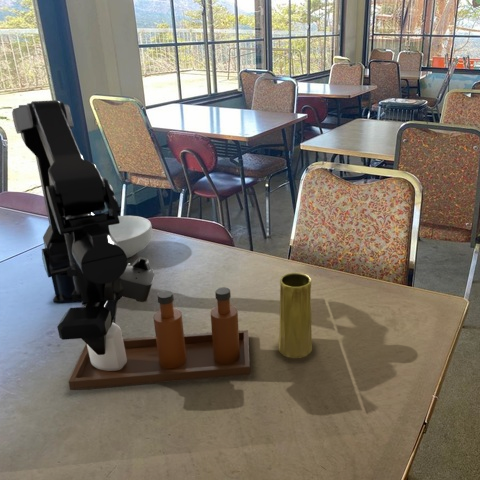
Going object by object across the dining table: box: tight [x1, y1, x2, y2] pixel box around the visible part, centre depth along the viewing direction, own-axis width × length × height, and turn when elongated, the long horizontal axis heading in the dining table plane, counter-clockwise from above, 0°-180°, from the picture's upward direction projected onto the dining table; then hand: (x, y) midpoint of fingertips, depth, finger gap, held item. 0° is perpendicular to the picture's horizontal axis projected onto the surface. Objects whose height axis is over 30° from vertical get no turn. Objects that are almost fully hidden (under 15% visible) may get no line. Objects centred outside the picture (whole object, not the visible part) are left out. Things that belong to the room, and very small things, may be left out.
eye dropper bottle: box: [87, 322, 127, 371], centre depth 77 cm, size 4×6×12 cm
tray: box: [68, 329, 251, 391], centre depth 81 cm, size 28×11×2 cm, turn 99°
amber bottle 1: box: [152, 290, 186, 369], centre depth 79 cm, size 4×4×13 cm
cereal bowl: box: [109, 215, 153, 259], centre depth 119 cm, size 17×17×7 cm
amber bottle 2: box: [210, 286, 240, 364], centre depth 80 cm, size 4×4×13 cm
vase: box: [278, 272, 313, 359], centre depth 83 cm, size 6×6×14 cm
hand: (106, 342), depth 78 cm, fingers open, 6 cm apart
